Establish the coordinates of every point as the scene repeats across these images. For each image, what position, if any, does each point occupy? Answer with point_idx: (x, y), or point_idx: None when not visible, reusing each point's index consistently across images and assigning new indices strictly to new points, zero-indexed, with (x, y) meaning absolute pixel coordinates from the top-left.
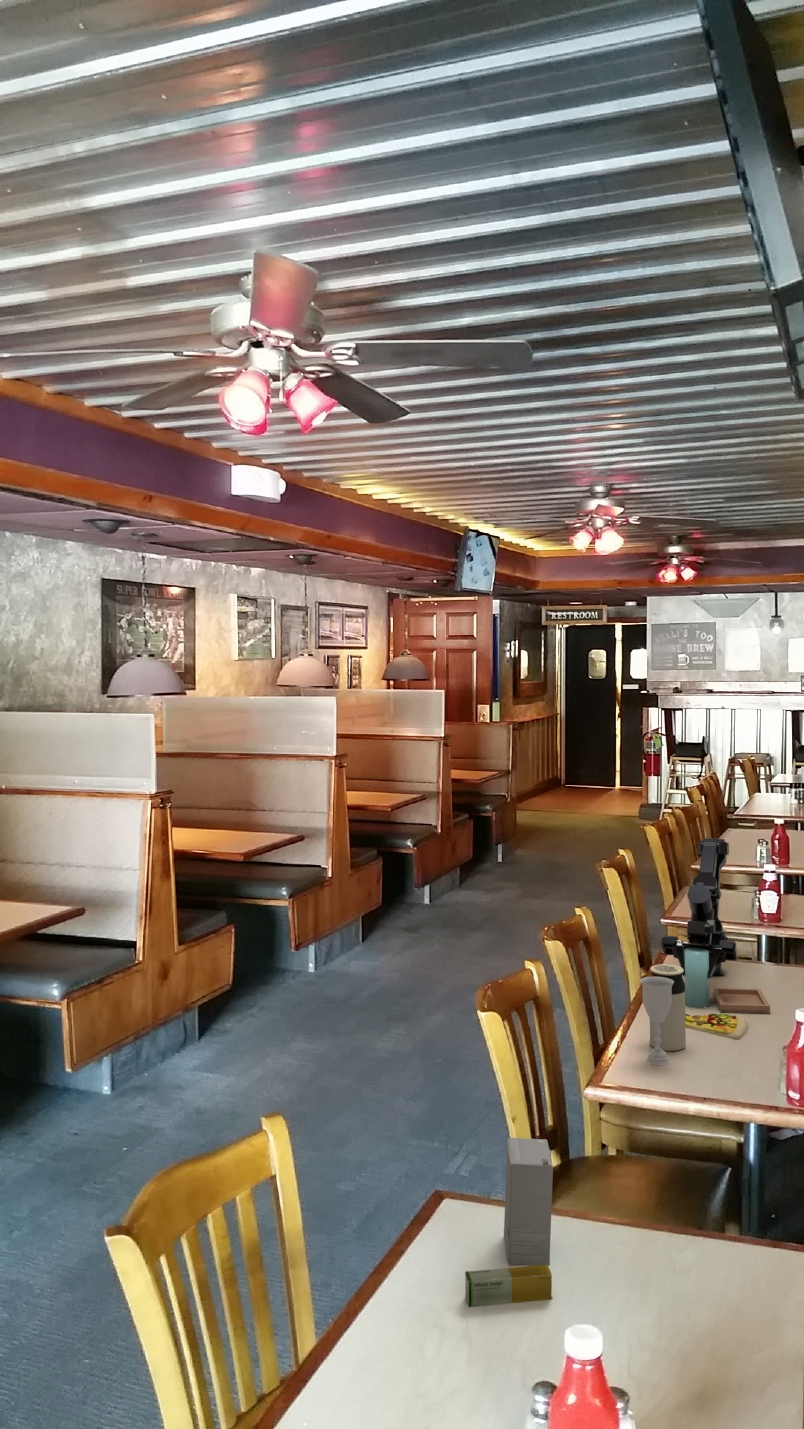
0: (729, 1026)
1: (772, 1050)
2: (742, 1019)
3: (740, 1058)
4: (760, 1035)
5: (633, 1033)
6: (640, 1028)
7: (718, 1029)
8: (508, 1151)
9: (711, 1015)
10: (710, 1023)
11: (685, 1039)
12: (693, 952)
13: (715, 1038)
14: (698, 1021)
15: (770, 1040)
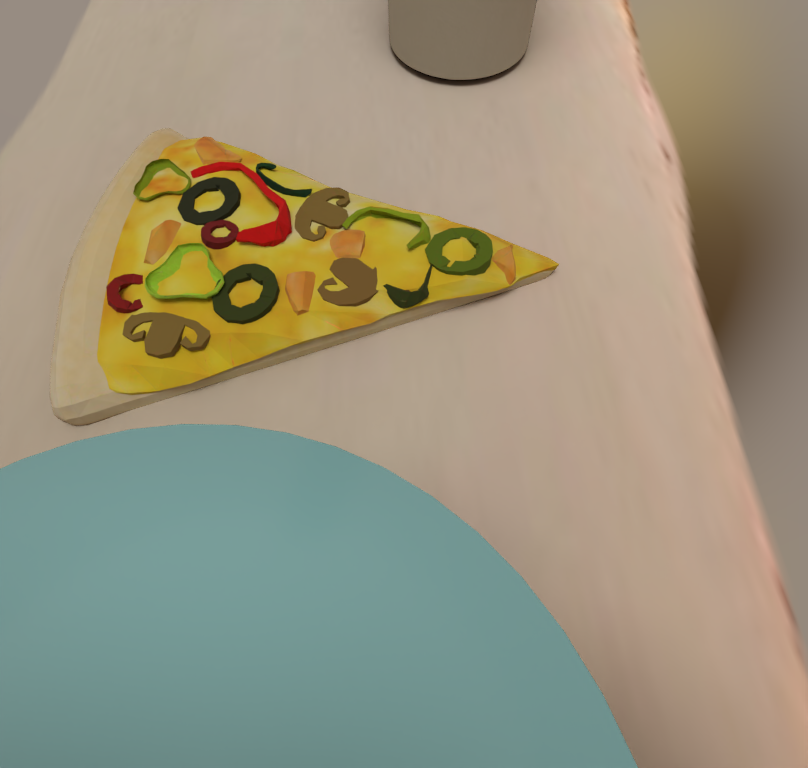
0: (178, 173)
1: (50, 83)
2: (77, 273)
3: (194, 9)
4: (44, 208)
5: (625, 111)
6: (616, 164)
7: (240, 151)
8: None
9: (257, 300)
10: (273, 184)
11: (388, 7)
12: (270, 578)
13: (266, 136)
14: (337, 213)
15: (18, 166)
